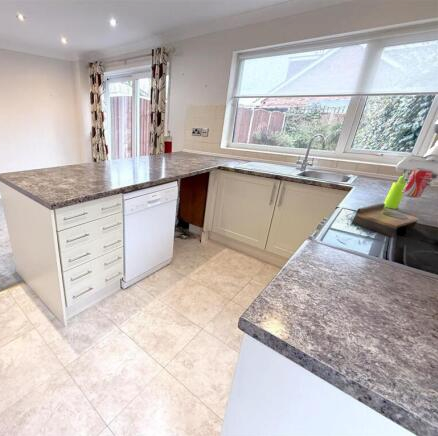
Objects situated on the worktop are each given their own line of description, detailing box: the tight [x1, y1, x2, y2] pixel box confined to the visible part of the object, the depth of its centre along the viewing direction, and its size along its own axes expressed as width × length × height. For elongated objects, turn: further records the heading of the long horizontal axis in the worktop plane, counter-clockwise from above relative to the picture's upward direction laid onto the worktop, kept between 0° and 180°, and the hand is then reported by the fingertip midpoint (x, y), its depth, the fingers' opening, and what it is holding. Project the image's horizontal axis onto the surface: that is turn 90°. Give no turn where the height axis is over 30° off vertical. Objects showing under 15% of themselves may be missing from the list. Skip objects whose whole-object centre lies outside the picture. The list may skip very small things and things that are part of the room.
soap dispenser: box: [383, 173, 407, 210], centre depth 130 cm, size 6×7×20 cm
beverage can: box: [402, 168, 433, 199], centre depth 106 cm, size 6×6×12 cm
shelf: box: [351, 202, 420, 238], centre depth 108 cm, size 14×22×7 cm, turn 117°
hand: (416, 182), depth 106 cm, fingers closed on beverage can, 6 cm apart
